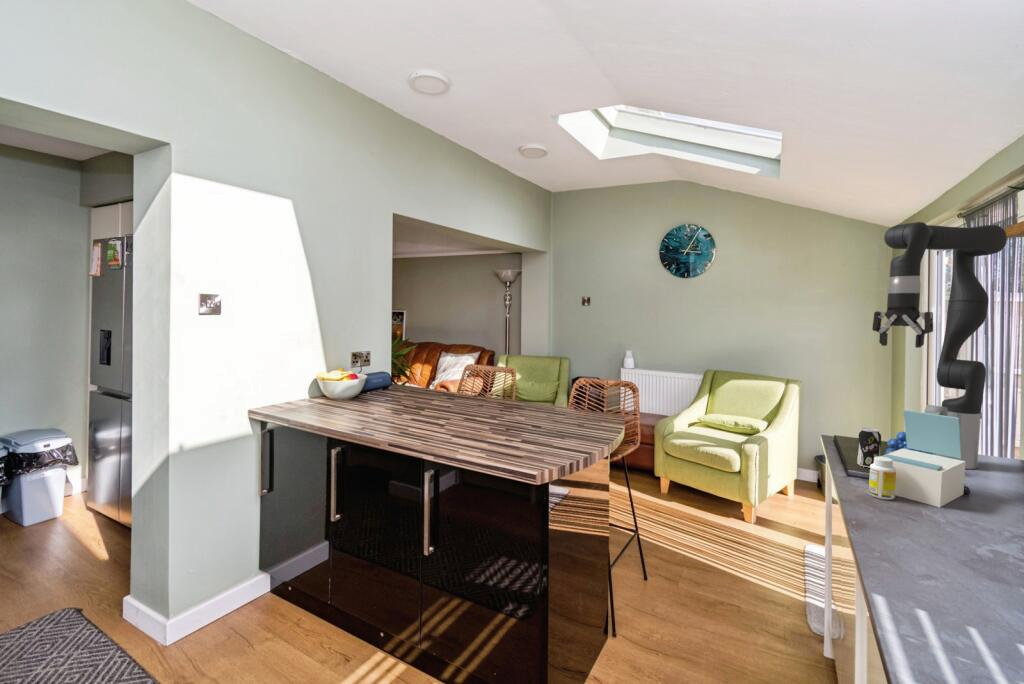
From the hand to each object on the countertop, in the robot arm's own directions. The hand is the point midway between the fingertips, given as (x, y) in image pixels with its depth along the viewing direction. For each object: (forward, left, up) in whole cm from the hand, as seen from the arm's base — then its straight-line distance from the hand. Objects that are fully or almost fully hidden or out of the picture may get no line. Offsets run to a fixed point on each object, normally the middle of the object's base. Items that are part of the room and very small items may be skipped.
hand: (900, 346), depth 147 cm
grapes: (-8, +1, -38) cm, 39 cm away
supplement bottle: (+26, +7, -38) cm, 47 cm away
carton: (+14, +11, -38) cm, 42 cm away
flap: (+8, +11, -23) cm, 27 cm away
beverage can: (+2, -6, -38) cm, 39 cm away
